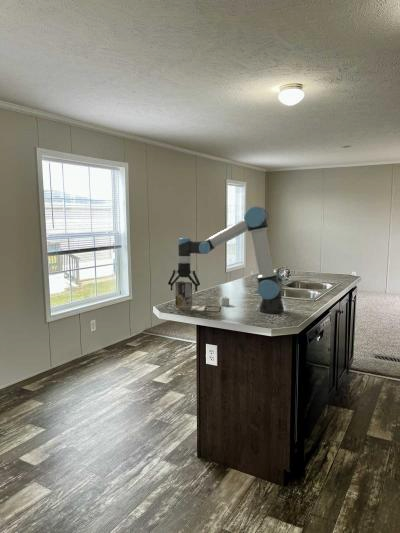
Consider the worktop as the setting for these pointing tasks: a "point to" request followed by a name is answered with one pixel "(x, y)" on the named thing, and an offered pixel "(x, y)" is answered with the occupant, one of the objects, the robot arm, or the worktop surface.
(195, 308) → the board
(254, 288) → the worktop surface
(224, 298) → the die
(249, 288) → the worktop surface
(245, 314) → the worktop surface
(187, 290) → the coffee box
